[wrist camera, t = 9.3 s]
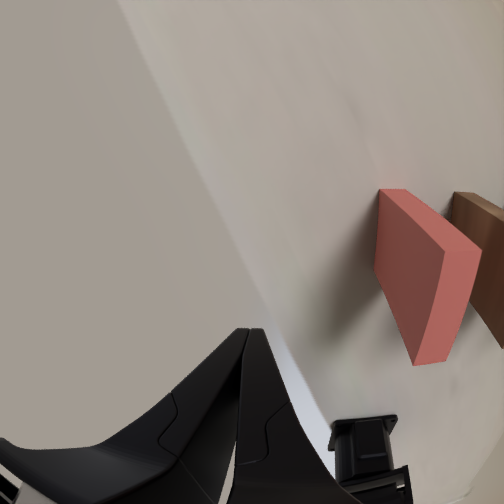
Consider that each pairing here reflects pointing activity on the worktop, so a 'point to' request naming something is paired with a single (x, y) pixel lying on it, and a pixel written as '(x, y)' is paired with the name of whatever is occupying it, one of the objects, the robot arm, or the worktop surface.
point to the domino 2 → (484, 256)
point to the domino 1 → (423, 273)
